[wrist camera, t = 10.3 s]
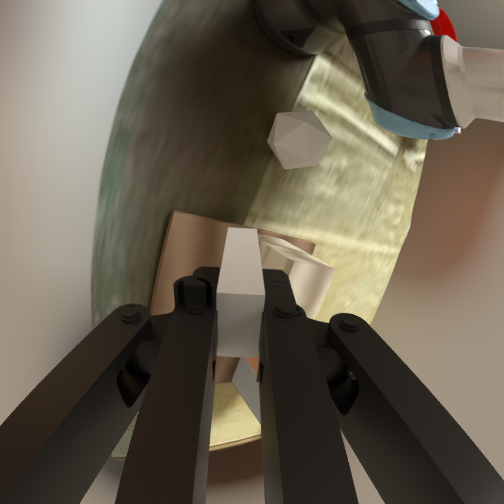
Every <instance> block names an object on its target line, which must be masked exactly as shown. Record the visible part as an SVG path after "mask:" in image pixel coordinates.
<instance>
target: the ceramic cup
mask: <svg viewBox="0 0 504 504" xmlns="http://www.w3.org/2000/svg"><path fill="white" fill-rule="evenodd" d="M438 9H439V16H438V17H437V18H435V19H434V20H429V21H430V24H431V27H432V30H433V33H434V35H447V36H449V37H450V38H452V39H453V40H454V41H455V42H457V38H456V34H455V31H454V29H453V26H452V23H451V21H450V19H449V18H448V16H447V15H446V13H445V12H444V11H443V10H442V9H440V8H438Z"/></svg>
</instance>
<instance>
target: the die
mask: <svg viewBox="0 0 504 504" xmlns="http://www.w3.org/2000/svg"><path fill="white" fill-rule="evenodd" d="M331 140H332V137H331V135H330V134H329V133H328V131H327V130H326V128H325V127H324V126H323V124H322V123H321V121H320V120H319V119H318V117H317V116H316V115H315V113H314V112H313V111H312V110H309V111H294V112H283V113H277V115H276V118H275V120H274V123H273V126H272V129H271V131H270V134H269V137H268V140H267V143H268V145H269V146H270V148H271V149H272V151H273V152H274V154H275V155H276V157H277V158H278V160H279V162H280V163H281V165H282V166H283V168H284V170H286V169H293V168H301V167H310V166H318V165H319V163H320V161H321V159H322V157H323V155H324V154H325V152H326V150H327V148H328V146H329V144H330V142H331Z"/></svg>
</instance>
